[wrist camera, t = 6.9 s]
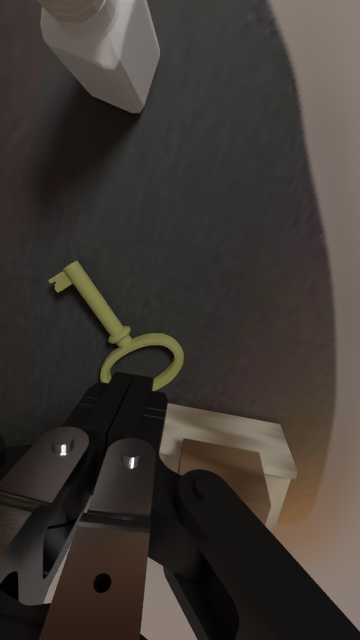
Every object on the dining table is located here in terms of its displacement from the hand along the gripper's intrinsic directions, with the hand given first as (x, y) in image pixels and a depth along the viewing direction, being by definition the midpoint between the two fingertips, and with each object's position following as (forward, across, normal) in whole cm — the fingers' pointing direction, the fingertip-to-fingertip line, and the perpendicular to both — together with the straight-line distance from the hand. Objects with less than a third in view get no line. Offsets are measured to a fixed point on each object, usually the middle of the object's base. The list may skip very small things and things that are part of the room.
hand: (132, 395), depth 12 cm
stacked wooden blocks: (+11, -5, +9) cm, 16 cm away
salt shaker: (+13, +5, -15) cm, 20 cm away
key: (+13, +4, +2) cm, 14 cm away
